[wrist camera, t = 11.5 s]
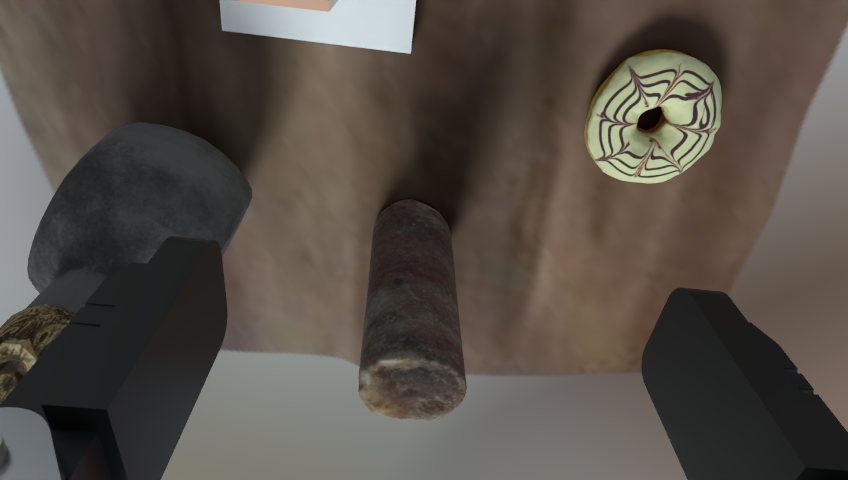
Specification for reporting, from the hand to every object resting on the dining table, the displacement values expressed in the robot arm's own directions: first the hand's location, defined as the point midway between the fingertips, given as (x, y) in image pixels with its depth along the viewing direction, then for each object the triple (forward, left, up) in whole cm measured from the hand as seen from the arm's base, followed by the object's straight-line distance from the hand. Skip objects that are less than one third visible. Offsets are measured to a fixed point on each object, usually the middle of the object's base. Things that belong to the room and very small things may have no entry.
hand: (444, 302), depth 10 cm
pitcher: (+19, -20, -36) cm, 46 cm away
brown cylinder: (+21, +1, -36) cm, 42 cm away
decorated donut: (+7, +19, -37) cm, 42 cm away
